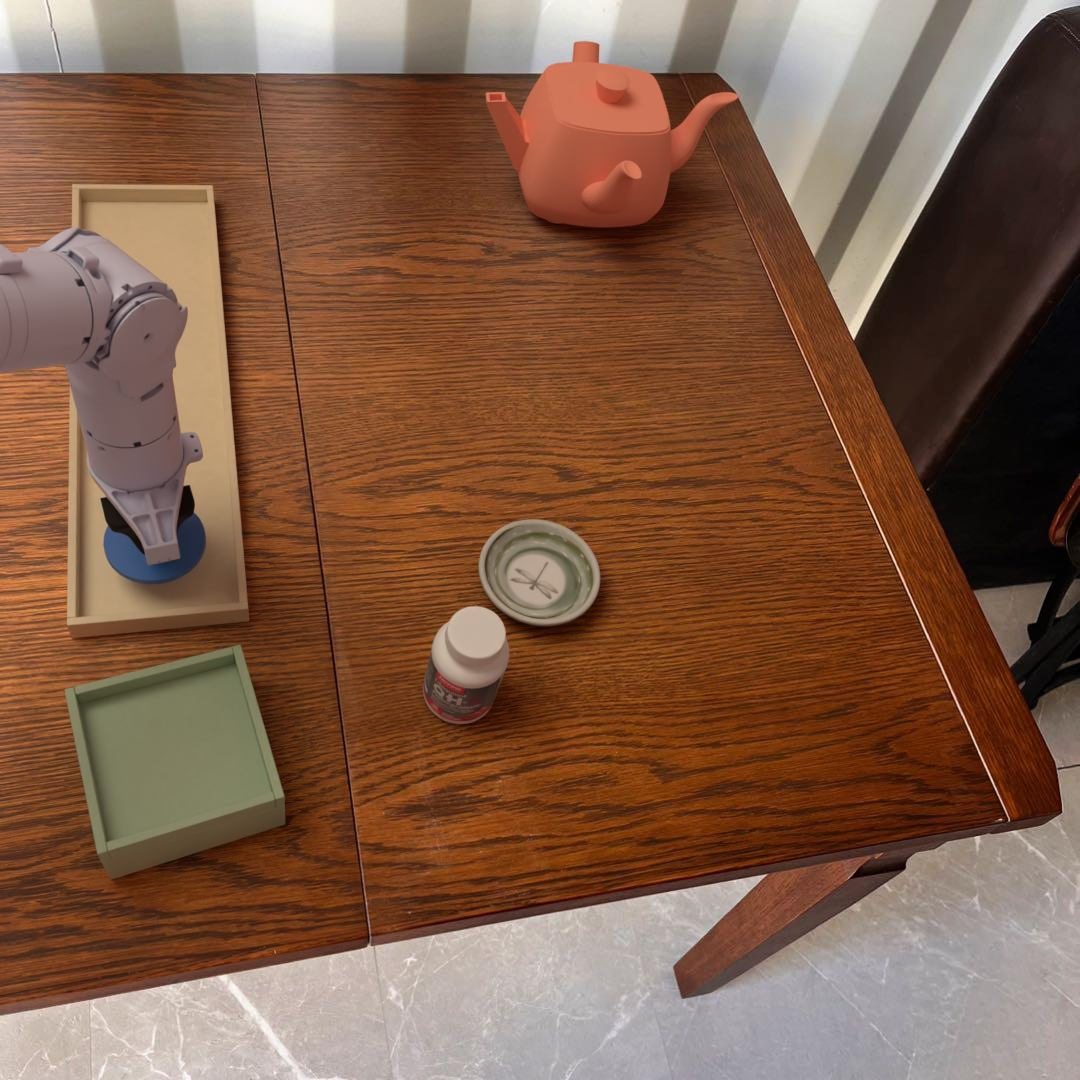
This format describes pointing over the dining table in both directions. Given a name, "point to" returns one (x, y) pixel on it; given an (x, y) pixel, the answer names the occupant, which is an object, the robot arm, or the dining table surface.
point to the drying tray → (203, 408)
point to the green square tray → (174, 760)
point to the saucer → (539, 572)
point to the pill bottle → (466, 665)
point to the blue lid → (136, 569)
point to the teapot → (597, 141)
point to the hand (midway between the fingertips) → (152, 531)
